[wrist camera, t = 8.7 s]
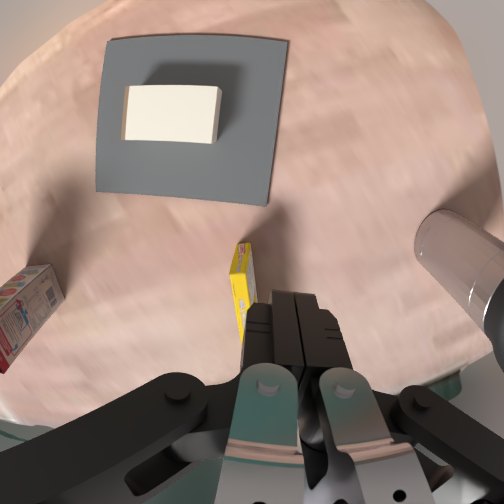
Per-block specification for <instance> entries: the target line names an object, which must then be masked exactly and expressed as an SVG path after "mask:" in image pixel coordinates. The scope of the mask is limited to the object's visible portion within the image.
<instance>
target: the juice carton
mask: <svg viewBox="0 0 504 504" xmlns="http://www.w3.org/2000/svg"><path fill="white" fill-rule="evenodd" d="M64 301H65V299H64V296H63V294H62V291H61V289H60V286H59V283H58V281H57V278H56V275H55V272H54V270H53V267H52V264H45V265H36V266H27V267H25V268H24V269H22V270H21V271H20V272H19V273H17V274H16V275H15V276H14V277H12V278H11V279H10V280H9V281H7V282H6V283H5V284H4V285H3V286H2V287H0V373H2V374H4V373H5V372H6V371H7V369H8V368H9V367H10V365H11V364H12V363H13V361H14V360H15V359H16V358H17V356H18V355H19V354H20V352H21V351H22V350H23V349H24V347H25V346H26V345H27V344H28V342H29V341H30V340H31V339H32V338H33V336H34V335H35V334H36V333H37V332H38V330H39V329H40V328H41V327H42V326H43V324H44V323H45V322H46V321H47V320H48V319H49V318H50V316H51V315H52V314H53V313H54V312H55V311H56V310H57V308H58V307H59V306H60V305H61V304H62V303H63V302H64Z"/></svg>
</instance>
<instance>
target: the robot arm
mask: <svg viewBox="0 0 504 504" xmlns="http://www.w3.org/2000/svg"><path fill="white" fill-rule="evenodd" d="M415 254H416V257H417V259H418V261H419V262H420V264H421V265H422V266H423V267H424V268H425V269H426V270H427V271H428V272H429V273H430V274H431V275H432V276H433V277H434V278H435V279H436V280H437V281H438V282H439V283H440V284H441V285H442V286H443V287H444V289H445V290H446V291H447V292H448V293H449V294H450V295H451V296H452V297H453V298H454V299H455V300H456V301H457V302H458V304H459V305H460V306H461V307H462V308H463V309H464V310H465V311H466V313H467V314H468V315H469V316H470V317H471V318H472V319H473V320H474V321H475V323H476V324H477V325H478V326H479V327H480V328H481V330H482V331H483V332H484V333H485V334H486V336H487V337H488V338H489V340H490V341H491V343H492V345H493V350H494V354H495V357H496V359H497V362H498V364H499V366H500V367H501V369H502V371H503V372H504V242H503V241H501V240H499V239H498V238H496V237H495V236H493V235H492V234H490V233H488V232H487V231H485V230H484V229H482V228H480V227H479V226H477V225H475V224H474V223H472V222H470V221H469V220H467V219H465V218H464V217H462V216H460V215H458V214H457V213H455V212H453V211H451V210H447V209H445V210H438V211H436V212H434V213H432V214H430V215H429V216H428V217H427V218H426V219H425V220H424V221H423V223H422V224H421V226H420V228H419V229H418V232H417V235H416V238H415ZM297 424H299V429H297V428H298V425H297ZM297 430H298V431H297ZM417 443H420V444H421V445H422V446H424V447H425V448H427V449H428V450H430V451H431V452H432V453H434V454H435V455H436V456H438V457H440V458H441V459H442V460H444V461H445V462H446V463H448V464H449V465H447V466H440V465H438V464H436V463H435V462H433V461H432V460H431V459H429V458H428V457H426V456H425V455H424V454H422V453H421V452H420V451H418V450H417V449H415V448H414V447H415V446H416V444H417ZM223 457H224V460H223V465H222V470H221V474H220V480H219V484H218V490H217V494H216V499H215V504H504V439H503V438H501V437H500V436H498V435H497V434H495V433H494V432H492V431H491V430H489V429H488V428H486V427H484V426H483V425H482V424H480V423H479V422H477V421H476V420H474V419H473V418H471V417H470V416H468V415H467V414H465V413H464V412H462V411H461V410H459V409H458V408H456V407H455V406H453V405H452V404H450V403H449V402H448V401H446V400H445V399H443V398H442V397H440V396H439V395H437V394H436V393H434V392H433V391H432V390H430V389H428V388H426V387H423V386H419V385H412V386H408V387H406V388H404V389H403V390H402V391H401V393H400V394H399V396H395V395H390V394H386V393H381V392H377V391H374V390H372V389H371V387H370V385H369V383H368V381H367V380H366V378H365V377H364V376H363V375H361V374H360V373H358V372H356V371H354V370H353V367H352V364H351V361H350V358H349V355H348V352H347V349H346V345H345V342H344V340H343V336H342V333H341V331H340V327H339V324H338V321H337V319H336V318H335V317H334V316H333V315H332V314H331V312H330V311H329V310H325V309H319V307H318V303H317V299H316V296H315V294H308V293H299V292H293V293H292V292H289V291H280V290H270V294H269V299H268V304H264V303H256V302H254V303H253V304H252V305H251V306H250V308H249V309H248V310H247V314H246V321H245V328H244V335H243V342H242V352H241V364H240V373H239V374H238V375H237V376H236V377H235V378H234V379H232V380H231V381H229V382H226V383H223V384H218V385H209V386H205V385H204V383H203V382H202V381H200V380H199V379H198V378H196V377H194V376H192V375H190V374H186V373H180V372H172V373H167V374H163V375H161V376H159V377H157V378H155V379H153V380H151V381H150V382H148V383H146V384H144V385H142V386H140V387H138V388H136V389H135V390H133V391H131V392H129V393H127V394H125V395H123V396H121V397H119V398H117V399H115V400H113V401H111V402H109V403H108V404H106V405H104V406H102V407H100V408H98V409H96V410H94V411H91V412H89V413H87V414H85V415H83V416H81V417H79V418H77V419H75V420H73V421H71V422H69V423H66V424H64V425H62V426H60V427H58V428H56V429H54V430H51V431H49V432H47V433H45V434H42V435H40V436H38V437H36V438H33V439H31V440H29V441H26V442H24V443H22V444H19V445H17V446H14V447H12V448H10V449H7V450H5V451H2V452H0V504H142V503H144V502H145V501H147V500H148V499H150V498H151V497H153V496H155V495H156V494H158V493H159V492H161V491H162V490H164V489H165V488H167V487H168V486H170V485H171V484H173V483H174V482H176V481H177V480H179V479H180V478H182V477H183V476H184V475H186V474H187V473H189V472H190V471H191V470H193V469H194V468H195V467H197V466H198V465H199V464H201V463H202V462H203V460H210V459H217V458H223Z"/></svg>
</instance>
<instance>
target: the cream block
mask: <svg viewBox="0 0 504 504" xmlns="http://www.w3.org/2000/svg"><path fill="white" fill-rule="evenodd" d="M221 97H222V90H221V89H220V88H219V87H216V86H195V85H143V86H125V95H124V105H123V117H122V131H121V140H153V141H177V142H194V143H208V144H212V143H215V142H216V141H217V132H218V123H219V114H220V105H221Z"/></svg>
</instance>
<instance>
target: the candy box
mask: <svg viewBox="0 0 504 504" xmlns="http://www.w3.org/2000/svg"><path fill="white" fill-rule="evenodd" d="M229 275H230V280H231V286H232V292H233V298H234V304H235V310H236V316H237V322H238V327H239V333H240V339H241V345H242V342H243V335H244V328H245V321H246V314H247V310H248V309H249V308H250V306H251V305H252V304H253V303H254V302H256V303H258V299H257V291H256V283H255V275H254V265H253V257H252V248H251V243H242V244H237V246H236V250H235V253H234V257H233V260H232V264H231V268H230V273H229Z"/></svg>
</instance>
